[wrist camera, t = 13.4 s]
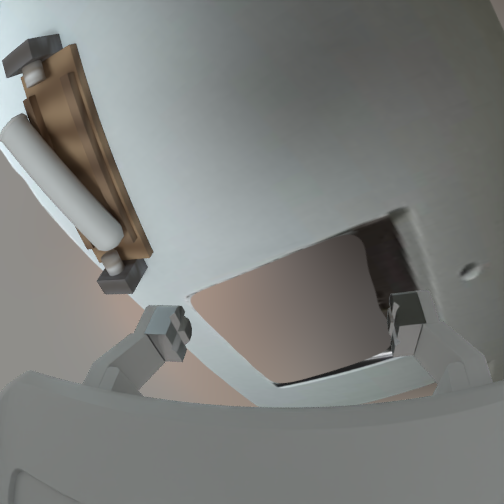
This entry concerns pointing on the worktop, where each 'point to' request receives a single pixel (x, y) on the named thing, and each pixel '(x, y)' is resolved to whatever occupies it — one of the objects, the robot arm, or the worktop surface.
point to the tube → (61, 184)
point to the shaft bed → (80, 148)
